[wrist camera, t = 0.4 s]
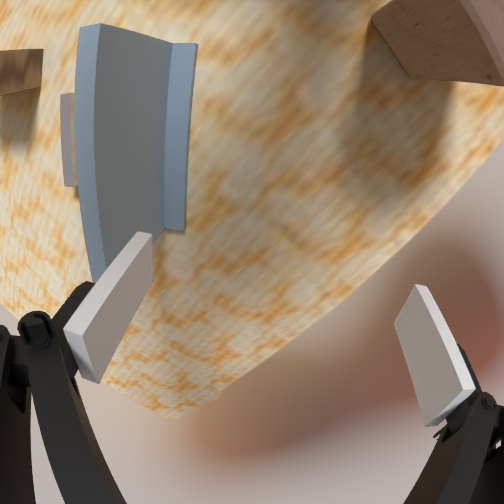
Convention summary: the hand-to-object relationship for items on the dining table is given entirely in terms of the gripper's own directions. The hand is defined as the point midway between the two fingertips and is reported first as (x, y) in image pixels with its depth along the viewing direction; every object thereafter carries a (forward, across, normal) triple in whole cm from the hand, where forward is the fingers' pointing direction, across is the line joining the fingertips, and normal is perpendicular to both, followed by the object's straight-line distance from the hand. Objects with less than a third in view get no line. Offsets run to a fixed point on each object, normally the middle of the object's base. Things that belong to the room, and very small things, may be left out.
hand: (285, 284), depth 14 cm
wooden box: (+27, -44, +10) cm, 53 cm away
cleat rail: (+27, -30, -1) cm, 41 cm away
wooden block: (+28, +14, +21) cm, 37 cm away
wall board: (+27, -15, 0) cm, 31 cm away
